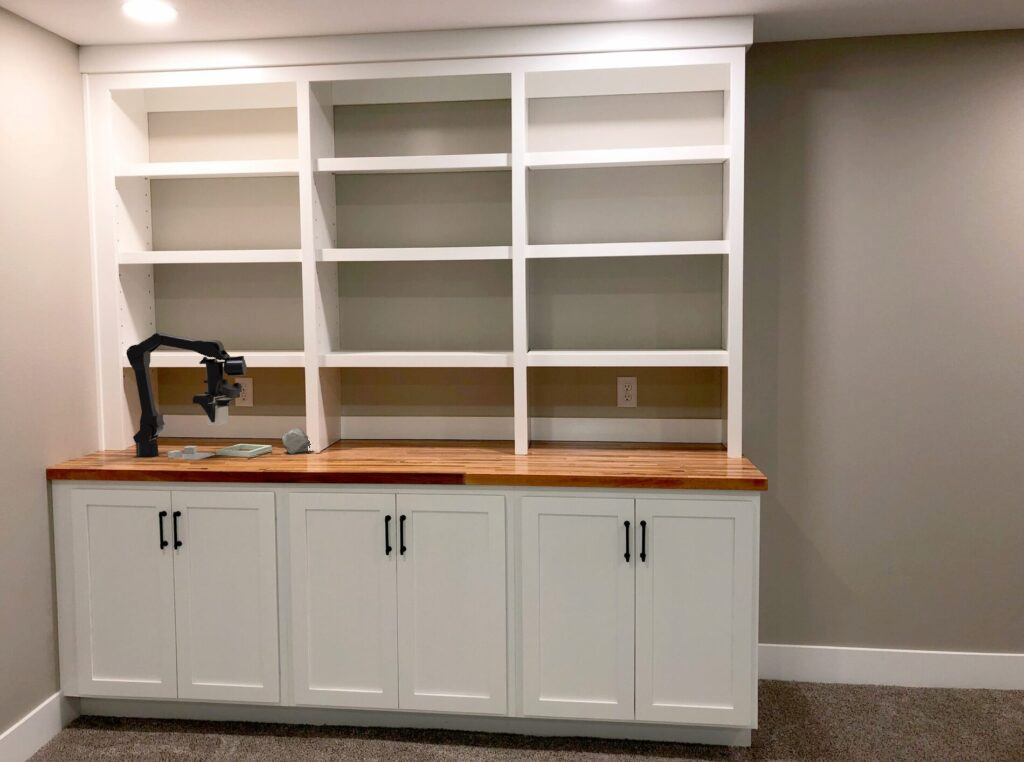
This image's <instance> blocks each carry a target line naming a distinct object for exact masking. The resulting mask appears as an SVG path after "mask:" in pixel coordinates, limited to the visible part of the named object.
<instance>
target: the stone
mask: <svg viewBox="0 0 1024 762" xmlns="http://www.w3.org/2000/svg"><path fill="white" fill-rule="evenodd" d="M308 438H309V436H308V435H307V434H305V432H304V430H303V428H302V427H297V428H291V429H290V430H288V431H286V432H285V433H284V434H283V436H282V437H281V442H282V444H283V447H284V449H285V450H286V451H287V453H289V454H290V455H294V454H298V453H302V452H303V453H305V452H309V451H308V446H309V448H310V445H311V444H310V441H309V440H308Z"/></svg>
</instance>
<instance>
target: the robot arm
mask: <svg viewBox="0 0 1024 762" xmlns="http://www.w3.org/2000/svg"><path fill="white" fill-rule="evenodd" d="M161 346H165V347H170V348H177V349H182V350H187V351H192V352H195V353H197V354H199V355H202V356H203V357H202V359H201V360H200V361H199V362H198V363H199V365H205V373H206V379H204V380H203V383H204V384H206V389H207V391H204V393H203V394H202V393H200V394H195V395H193V396H191V401H192V405H193V404H196V405H197V404H198V405H199V406H201V408H202V409H203V411H204V412H205V414H206V416H207V415H208V417H209V419H210V420H211V422H215V407H216V406H228V407H229V406H230V404H232V402H234V401H235V399H237V398H241V393H242V392H243V390H242V389H243V388H242V383H240V382H234V383H233V384H232V383H229V382H228V381H229V380H228V378H225V374H227V376H228V377H236V376H237V377H238V376H240V377H241V376H246V374H247V371H248V369H247V363H246V360H245V357H244V355H238V356H230V354H229V353H228V352H227V351H226V349H225V346H224V344H223V342H222V341H221V340H218V339H194V338H188V337H183V336H177V335H172V334H166V333H164V332H156V333H153V334H152V335H151V336H150V337H148V338H146V339H144V340H142V341H140V343H138V344H132V345H130V346H129V347H128V348H127V349H126V357H127V360H128V362H129V365H130V366H131V368H132V369H133V371H134V374H135V382H136V386H137V394H138V400H139V403H140V409H141V411H140V412H141V414H140V420H139V430H138V432H137V433H135V434H134V435H133V436H132V439H133V441H134V442H135V448H136V450H135V451H136V457H138V458H148V457H149V458H154V457H158V456H159V444H158V440H157V439H158V438H159V435H160V434H161V433H162V432H163V430H164V426H165V425H166V423H165V421H164V413H159V412H158V411H157V409H156V404H155V397H154V393H153V387H152V381H151V374H150V364H151V355H152V354H151V353H152V352H154V351H156V350H157V349H159V347H161Z"/></svg>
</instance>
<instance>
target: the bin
mask: <svg viewBox="0 0 1024 762" xmlns="http://www.w3.org/2000/svg"><path fill="white" fill-rule="evenodd" d="M272 453H273V445H270V444H269V445H267V444H250V443H238V444H235V445H230V446H227V447H223V448H219V449H216V450H215V454H216V455H217V456H230V457H231V456H232V457H233V456H235V457H247V460H252V459H256V458H259V457H262V456H265V455H268V454H272Z"/></svg>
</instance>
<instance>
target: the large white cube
mask: <svg viewBox="0 0 1024 762" xmlns="http://www.w3.org/2000/svg"><path fill="white" fill-rule="evenodd" d="M206 422H207V426H222V425H226V424H230V418H229V406H217V405H216V407H215V422H211V420H210V419H209V417H208V415H207V414H206Z"/></svg>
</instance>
